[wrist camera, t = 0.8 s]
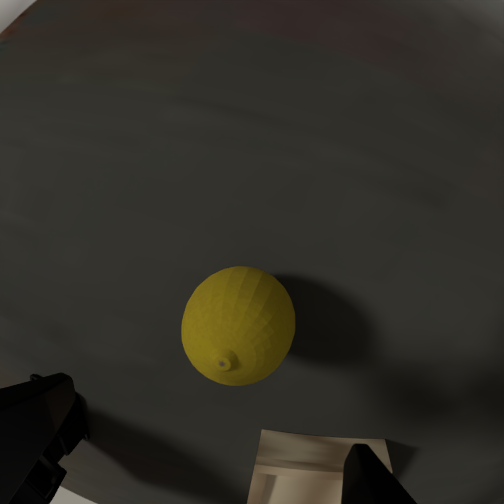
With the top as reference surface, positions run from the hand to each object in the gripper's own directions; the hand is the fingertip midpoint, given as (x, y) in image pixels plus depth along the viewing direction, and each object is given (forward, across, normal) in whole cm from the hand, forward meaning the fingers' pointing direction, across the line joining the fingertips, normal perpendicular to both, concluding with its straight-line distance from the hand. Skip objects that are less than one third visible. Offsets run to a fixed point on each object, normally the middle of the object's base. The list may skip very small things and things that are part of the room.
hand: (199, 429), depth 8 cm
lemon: (+12, 0, 0) cm, 12 cm away
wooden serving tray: (+12, -7, +16) cm, 21 cm away
